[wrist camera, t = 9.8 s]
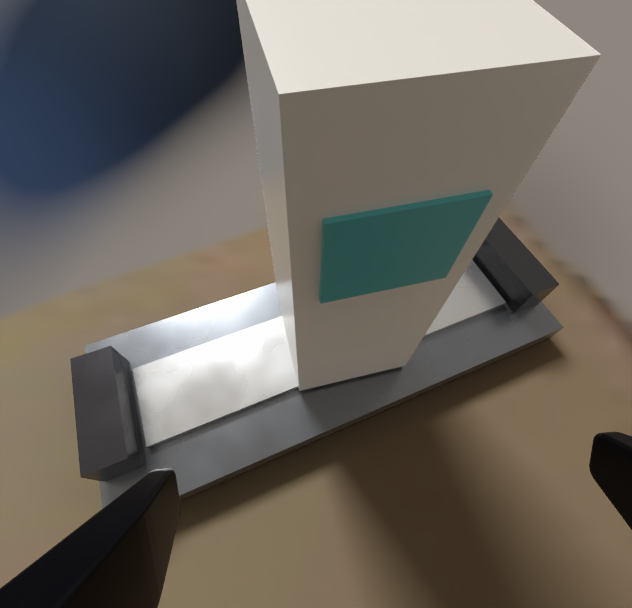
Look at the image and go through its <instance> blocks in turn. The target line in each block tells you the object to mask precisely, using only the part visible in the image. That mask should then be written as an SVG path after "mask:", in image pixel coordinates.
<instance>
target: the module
mask: <svg viewBox="0 0 632 608" xmlns="http://www.w3.org/2000/svg"><path fill="white" fill-rule="evenodd" d="M237 7H238V14H239V21H240V29H241V36H242V43H243V50H244V58H245V65H246V72H247V80H248V86H249V93H250V101H251V108H252V116H253V123H254V130H255V138H256V145H257V152H258V159H259V166H260V174H261V181H262V188H263V195H264V203H265V210H266V217H267V224H268V232H269V239H270V246H271V253H272V261H273V268H274V275H275V282H276V290H277V297H278V301H279V306H280V310H281V314H282V318H283V323H284V327H285V331H286V336H287V340H288V344H289V349H290V353H291V357H292V362H293V366H294V370H295V374H296V379H297V383H298V387H299V391H301V390H306V389H310V388H314V387H318V386H322V385H326V384H331V383H335V382H339V381H343V380H347V379H351V378H356V377H360V376H364V375H368V374H372V373H376V372H381V371H385V370H389V369H393V368H397V367H401V366H405V365H406V364H407V362H408V361H409V359H410V358H411V356H412V354H413V353H414V351H415V350H416V348H417V346H418V345H419V343H420V342H421V340H422V338H423V337H424V335H425V334H426V332H427V331H428V329H429V327H430V326H431V324H432V323H433V321H434V319H435V318H436V316H437V315H438V313H439V311H440V310H441V308H442V307H443V305H444V304H445V302H446V300H447V299H448V297H449V296H450V294H451V292H452V291H453V289H454V288H455V286H456V285H457V283H458V281H459V280H460V278H461V277H462V275H463V273H464V272H465V270H466V269H467V267H468V265H469V264H470V262H471V261H472V259H473V258H474V256H475V254H476V253H477V251H478V250H479V248H480V246H481V245H482V243H483V242H484V240H485V238H486V237H487V235H488V234H489V232H490V231H491V229H492V227H493V226H494V224H495V223H496V221H497V219H498V218H499V216H500V215H501V213H502V211H503V210H504V208H505V207H506V205H507V204H508V202H509V200H510V199H511V197H512V196H513V194H514V192H515V191H516V189H517V187H518V186H519V184H520V183H521V181H522V180H523V178H524V177H525V175H526V173H527V172H528V170H529V168H530V167H531V165H532V164H533V162H534V161H535V159H536V157H537V156H538V154H539V153H540V151H541V150H542V148H543V146H544V145H545V143H546V142H547V140H548V138H549V137H550V135H551V134H552V132H553V130H554V128H555V127H556V126H557V124H558V123H559V121H560V119H561V118H562V116H563V115H564V113H565V111H566V110H567V108H568V107H569V105H570V103H571V102H572V100H573V98H574V97H575V95H576V94H577V92H578V90H579V89H580V87H581V86H582V84H583V83H584V81H585V79H586V78H587V76H588V75H589V73H590V72H591V70H592V69H593V67H594V65H595V64H596V62H597V61H598V59H599V57H600V56H601V54H600V53H598V52H597V51H596V50H595V49H593V48H592V47H591V46H590V45H588V44H587V43H586V42H585V41H583V40H582V39H581V38H580V37H578V36H577V35H576V34H574V33H573V32H572V31H571V30H570V29H568V28H567V27H566V26H564V25H563V24H562V23H561V22H559V21H558V20H557V19H555V18H554V17H553V16H552V15H551V14H549V13H548V12H547V11H545V10H544V9H543V8H542V7H541V6H539V5H538V4H537V3H536V2H534V1H533V0H237Z"/></svg>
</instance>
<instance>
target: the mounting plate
mask: <svg viewBox="0 0 632 608" xmlns="http://www.w3.org/2000/svg"><path fill="white" fill-rule="evenodd" d="M558 285H559V283H558V282H557V281H556V280H555V279H554V278H553V277H552V275H551V274H550V273H549V272H548V271H547V270H546V269H545V268H544V267H543V266H542V264H541V263H540V262H539V261H538V260H537V259H536V258H535V257H534V256H533V254H532V253H531V252H530V251H529V250H528V249H527V248H526V247H525V246H524V245H523V243H522V242H521V241H520V240H519V239H518V238H517V237H516V236H515V235H514V234H513V232H512V231H511V230H510V229H509V228H508V227H507V226H506V225H505V224H504V223H503V221H502V220H501V219H500V218H498V219H497V221H496V223H495V224H494V226H493V227H492V229H491V231H490V232H489V234H488V235H487V237H486V238H485V240H484V242H483V243H482V245H481V246H480V248H479V250H478V251H477V253H476V254H475V256H474V258H473V259H472V261H471V262H470V264H469V265H468V267H467V269H466V270H465V272H464V273H463V275H462V277H461V278H460V280H459V281H458V283H457V285H456V286H455V288H454V289H453V291H452V292H451V294H450V296H449V297H448V299H447V300H446V302H445V304H444V305H443V307H442V308H441V310H440V311H439V313H438V315H437V316H436V318H435V319H434V321H433V323H432V324H431V326H430V327H429V329H428V331H427V332H426V334H425V335H424V337H423V338H422V340H421V342H420V343H419V345H418V346H417V348H416V350H415V351H414V353H413V354H412V356H411V358H410V359H409V361H408V362H407V364H406V365H405V366H401V367H397V368H393V369H389V370H385V371H381V372H376V373H372V374H368V375H364V376H360V377H356V378H351V379H347V380H343V381H339V382H335V383H331V384H326V385H322V386H318V387H314V388H310V389H306V390H301V391H299V387H298V383H297V379H296V374H295V370H294V366H293V362H292V357H291V353H290V349H289V344H288V340H287V336H286V331H285V327H284V323H283V318H282V314H281V310H280V306H279V301H278V297H277V290H276V282H275V283H272V284H269V285H266V286H263V287H260V288H257V289H254V290H251V291H248V292H245V293H242V294H239V295H236V296H233V297H230V298H227V299H224V300H221V301H218V302H215V303H212V304H209V305H206V306H203V307H200V308H197V309H194V310H191V311H188V312H185V313H182V314H179V315H176V316H173V317H170V318H167V319H164V320H161V321H158V322H155V323H152V324H149V325H146V326H143V327H140V328H137V329H134V330H131V331H128V332H125V333H122V334H119V335H116V336H113V337H110V338H107V339H104V340H101V341H97V342H94V343H91V344H88V345H85V353H86V354H84V355H81V356H78V357H75V358H72V359H70V360H71V371H72V383H73V394H74V406H75V417H76V428H77V440H78V451H79V463H80V474H81V477H82V478H87V479H93V480H98V481H100V488H101V497H102V506H103V508H104V507H106V506H107V505H108V504H109V503H111V502H112V501H113V500H115V499H116V498H117V497H118V496H120V495H121V494H122V493H124V492H125V491H126V490H127V489H129V488H130V487H131V486H133V485H134V484H135V483H136V482H138V481H139V480H140V479H141V478H143V477H144V476H145V475H147V474H148V473H149V472H151V471H152V470H156V469H169V468H171V469H173V470H174V472H175V474H176V479H177V485H178V491H179V498H180V501H181V500H183V499H185V498H187V497H190V496H192V495H194V494H197V493H199V492H201V491H203V490H206V489H208V488H210V487H212V486H215V485H217V484H219V483H222V482H224V481H226V480H228V479H231V478H233V477H235V476H237V475H240V474H242V473H244V472H246V471H249V470H251V469H253V468H256V467H258V466H260V465H262V464H265V463H267V462H269V461H271V460H274V459H276V458H278V457H281V456H283V455H285V454H287V453H290V452H292V451H294V450H296V449H299V448H301V447H303V446H305V445H308V444H310V443H312V442H315V441H317V440H319V439H321V438H324V437H326V436H328V435H330V434H333V433H335V432H337V431H340V430H342V429H344V428H346V427H349V426H351V425H353V424H355V423H358V422H360V421H362V420H364V419H367V418H369V417H371V416H374V415H376V414H378V413H380V412H383V411H385V410H387V409H389V408H392V407H394V406H396V405H399V404H401V403H403V402H405V401H408V400H410V399H412V398H414V397H417V396H419V395H421V394H423V393H426V392H428V391H430V390H433V389H435V388H437V387H439V386H442V385H444V384H446V383H448V382H451V381H453V380H455V379H457V378H460V377H462V376H464V375H467V374H469V373H471V372H473V371H476V370H478V369H480V368H482V367H485V366H487V365H489V364H492V363H494V362H496V361H498V360H501V359H503V358H505V357H507V356H510V355H512V354H514V353H516V352H519V351H521V350H523V349H526V348H528V347H530V346H532V345H535V344H537V343H539V342H541V341H544V340H546V339H548V338H550V337H552V336H553V335H554V334H556V333H557V332H558V331H560V330H561V329H562V328H564V327H563V326H562V325H561V324H560V323H559V322H558V320H557V319H556V318H555V317H554V316H553V315H552V313H551V312H550V311H549V310H548V309H547V308H546V306H545V305H544V304H543V303H542V302H541V301H542V300H543V299H544V298H545V297H546V296H547V295H548V294H549V293H550V292H552V291H553V290H554V289H555V288H556V287H557V286H558Z"/></svg>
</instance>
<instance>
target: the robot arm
mask: <svg viewBox="0 0 632 608" xmlns="http://www.w3.org/2000/svg"><path fill="white" fill-rule="evenodd" d="M589 467H590V472H591V474H592V477H593V478H594V480H595V481H596V482H597V484H598V485H599V486H600V488H601V489H602V490H603V492H604V493H605V495H606V496H607V497H608V499H609V500H610V501H611V503H612V504H613V505H614V507H615V508H616V509H617V511H618V512H619V513H620V515H621V516H622V517H623V519H624V520H625V521H626V523H627V524H628V525H629V527H630V528H631V529H632V436H629V435H626V434H623V433H620V432H605V433H598V434H596V436H595V437H594V439H593V445H592V451H591V458H590V464H589ZM179 514H180V498H179V491H178V485H177V479H176V474H175V472H174V470H173V469H171V468H169V469H156V470H152V471H151V472H149V473H148V474H147V475H145V476H144V477H143V478H141V479H140V480H139V481H138V482H136V483H135V484H134V485H133V486H131V487H130V488H129V489H127V490H126V491H125V492H124V493H122V494H121V495H120V496H118V497H117V498H116V499H115V500H113V501H112V502H111V503H109V504H108V505H107V506H106V507H104V508H103V509H102V510H100V511H99V512H98V513H97V514H95V515H94V516H93V517H91V518H90V519H89V520H88V521H86V522H85V523H84V524H82V525H81V526H80V527H79V528H77V529H76V530H75V531H73V532H72V533H71V534H70V535H68V536H67V537H66V538H65V539H63V540H62V541H61V542H59V543H58V544H57V545H56V546H54V547H53V548H52V549H50V550H49V551H48V552H47V553H45V554H44V555H43V556H41V557H40V558H39V559H38V560H36V561H35V562H34V563H32V564H31V565H30V566H29V567H27V568H26V569H25V570H23V571H22V572H21V573H20V574H18V575H17V576H16V577H14V578H13V579H12V580H11V581H9V582H8V583H7V584H5V585H4V586H3V587H2V588H0V608H157V607H158V604H159V601H160V597H161V593H162V589H163V585H164V581H165V576H166V572H167V568H168V563H169V559H170V554H171V550H172V546H173V541H174V537H175V532H176V528H177V524H178V519H179Z"/></svg>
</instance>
